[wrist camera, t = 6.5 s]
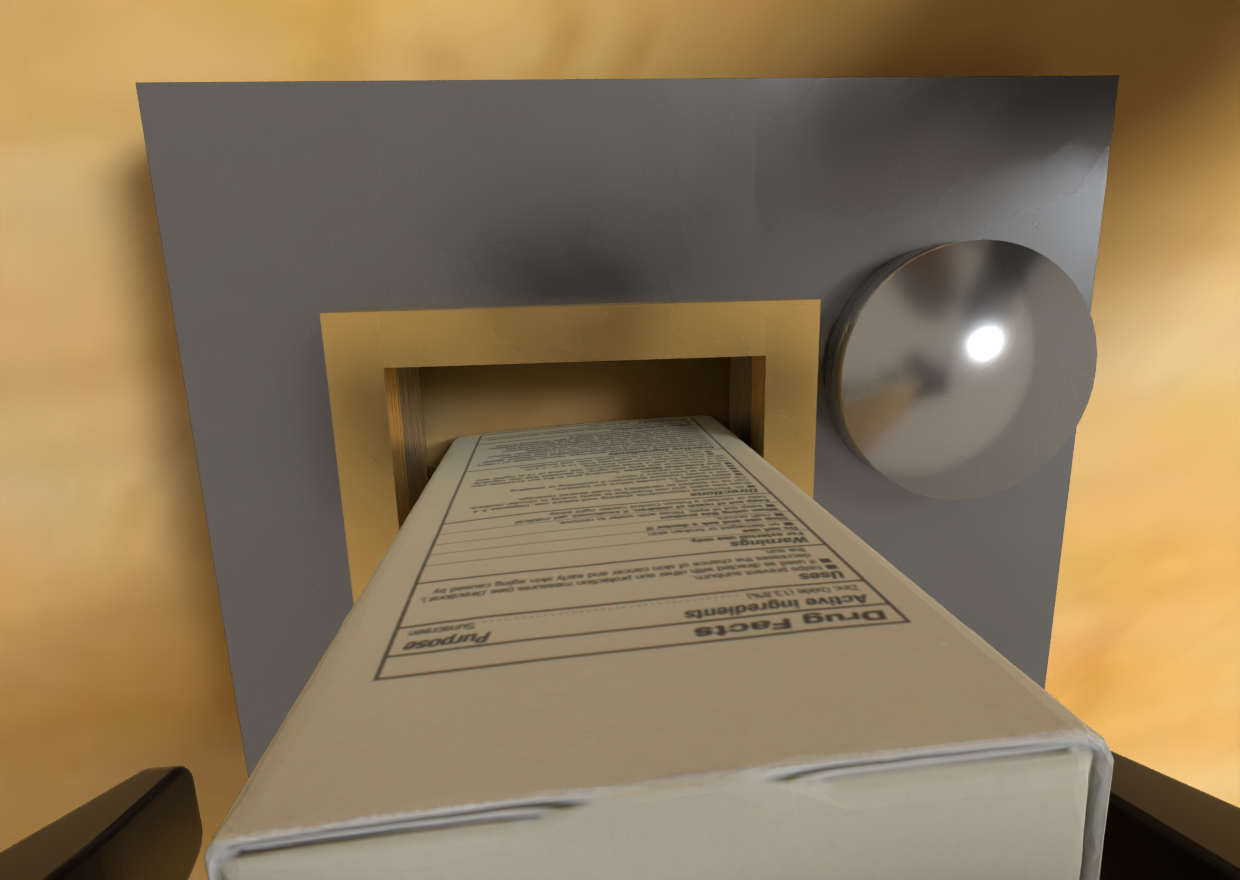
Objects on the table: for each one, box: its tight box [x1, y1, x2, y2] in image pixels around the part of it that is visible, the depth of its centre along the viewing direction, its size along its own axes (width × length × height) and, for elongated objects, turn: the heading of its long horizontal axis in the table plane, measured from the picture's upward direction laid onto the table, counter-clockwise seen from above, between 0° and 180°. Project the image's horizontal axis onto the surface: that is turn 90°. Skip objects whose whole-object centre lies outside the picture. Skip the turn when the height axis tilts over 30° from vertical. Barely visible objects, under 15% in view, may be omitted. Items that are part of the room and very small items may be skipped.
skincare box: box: [205, 416, 1114, 880], centre depth 11 cm, size 6×4×12 cm
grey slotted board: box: [136, 75, 1119, 777], centre depth 15 cm, size 18×15×3 cm
